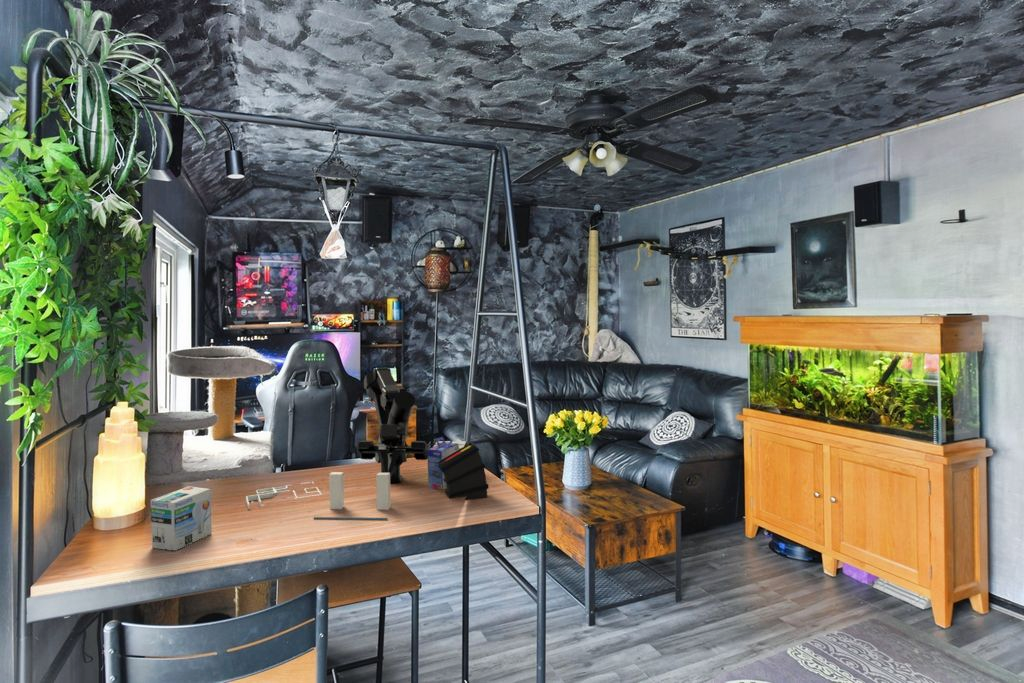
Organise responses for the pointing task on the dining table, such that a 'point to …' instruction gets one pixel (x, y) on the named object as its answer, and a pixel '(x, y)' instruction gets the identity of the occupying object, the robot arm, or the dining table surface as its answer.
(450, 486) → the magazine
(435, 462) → the ink cartridge box
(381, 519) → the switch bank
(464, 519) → the dining table surface
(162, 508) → the light bulb box
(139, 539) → the dining table surface
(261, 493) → the floor plan model
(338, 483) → the cream tall block
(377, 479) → the beige rectangular block
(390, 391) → the robot arm
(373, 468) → the dining table surface
